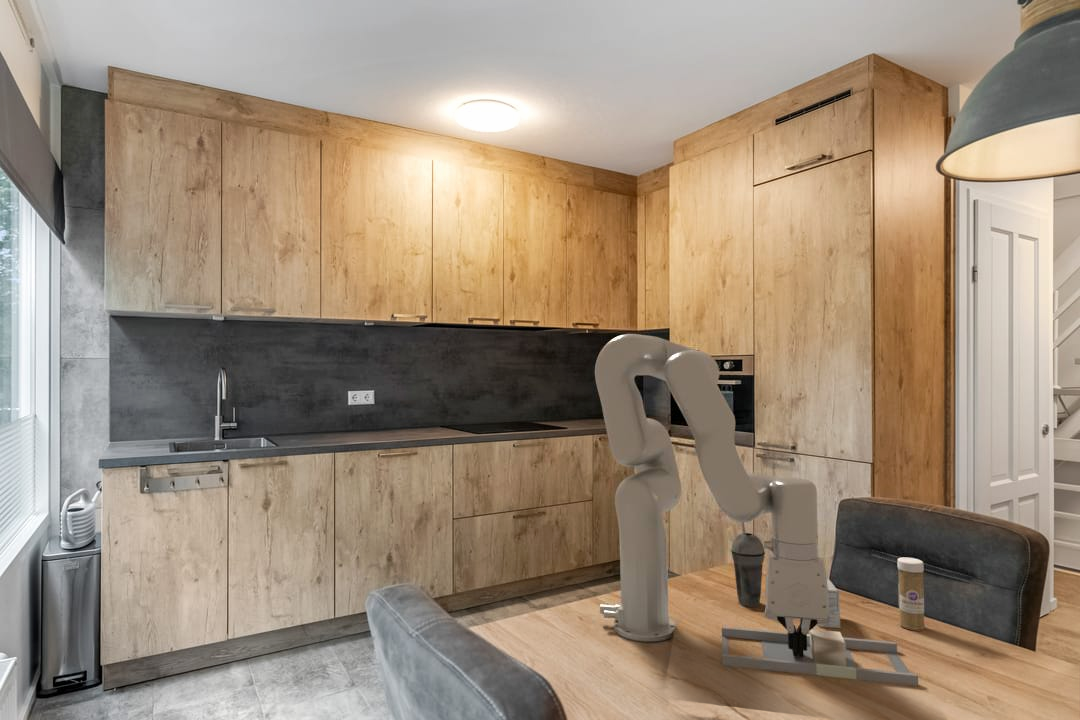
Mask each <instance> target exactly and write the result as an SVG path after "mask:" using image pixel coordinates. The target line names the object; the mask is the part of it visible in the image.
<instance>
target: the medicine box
mask: <svg viewBox="0 0 1080 720" xmlns="http://www.w3.org/2000/svg"><path fill="white" fill-rule="evenodd" d="M827 584H828V596H829V618H830V622H829V623H825V624H817V625H816V627H821V628H841V610H840V592H839V590H838V589H837V588H836V587H835V585H834V584H833V582H832V580H830V579H829V578H827Z"/></svg>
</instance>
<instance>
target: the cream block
mask: <svg viewBox="0 0 1080 720" xmlns="http://www.w3.org/2000/svg"><path fill="white" fill-rule="evenodd" d="M809 634H810V652H811V655H812V659H813V662H814V663H816V664H826V665H835V666H845V667H846V644H845V641H844V639H843V638H844V637H843V636H842V633H841V631H834V630H825V629H824V630H822V629H814V628H812V629H811V630H810V631H809Z"/></svg>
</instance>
